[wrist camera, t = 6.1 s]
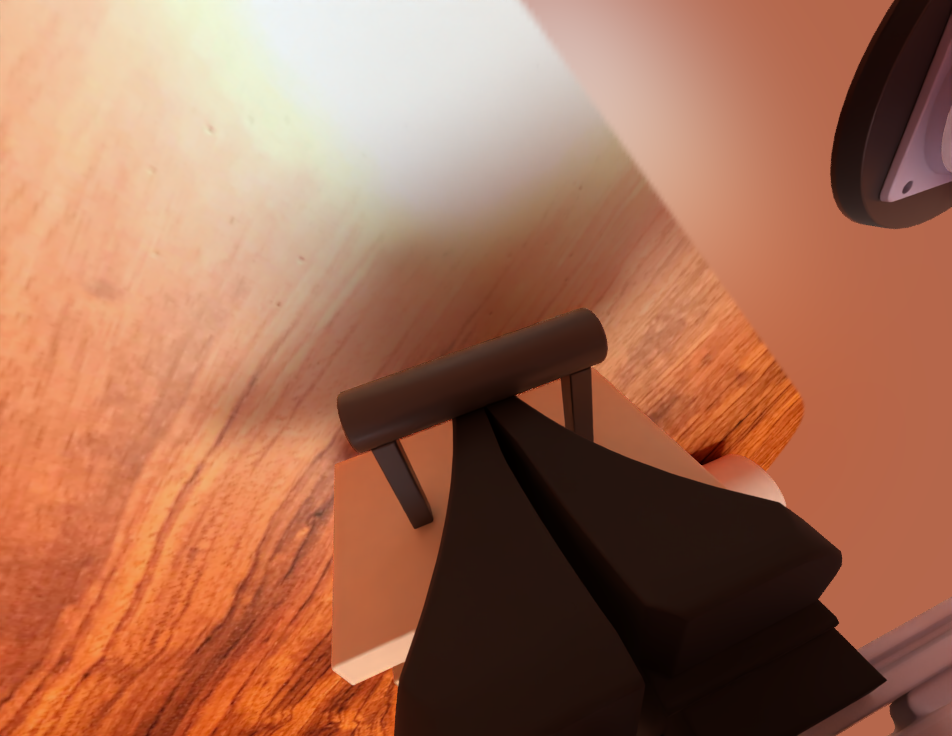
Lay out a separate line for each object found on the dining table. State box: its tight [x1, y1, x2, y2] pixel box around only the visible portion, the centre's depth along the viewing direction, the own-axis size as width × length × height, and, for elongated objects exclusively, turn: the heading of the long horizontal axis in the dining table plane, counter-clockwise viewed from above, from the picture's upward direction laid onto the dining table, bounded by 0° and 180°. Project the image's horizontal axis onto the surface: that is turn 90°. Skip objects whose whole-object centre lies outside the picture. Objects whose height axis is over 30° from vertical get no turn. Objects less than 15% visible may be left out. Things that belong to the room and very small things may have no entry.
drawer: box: [331, 308, 727, 686], centre depth 13 cm, size 17×10×6 cm, turn 12°
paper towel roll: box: [702, 454, 786, 507], centre depth 21 cm, size 4×7×4 cm, turn 102°
